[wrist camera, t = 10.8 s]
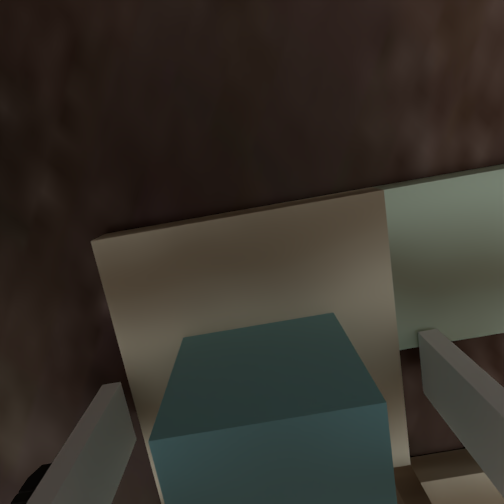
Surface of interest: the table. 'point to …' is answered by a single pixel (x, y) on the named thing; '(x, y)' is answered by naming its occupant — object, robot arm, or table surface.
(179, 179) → the table surface
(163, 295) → the board
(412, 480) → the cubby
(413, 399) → the table surface
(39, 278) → the table surface
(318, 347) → the block
